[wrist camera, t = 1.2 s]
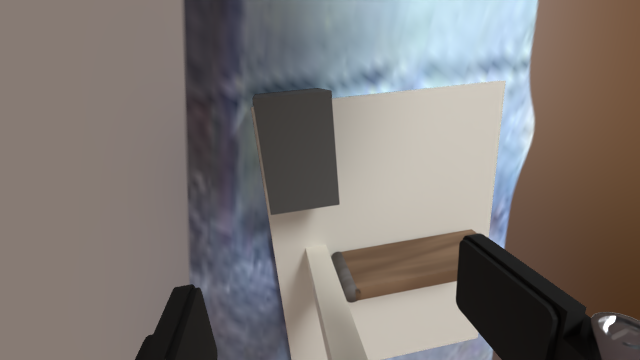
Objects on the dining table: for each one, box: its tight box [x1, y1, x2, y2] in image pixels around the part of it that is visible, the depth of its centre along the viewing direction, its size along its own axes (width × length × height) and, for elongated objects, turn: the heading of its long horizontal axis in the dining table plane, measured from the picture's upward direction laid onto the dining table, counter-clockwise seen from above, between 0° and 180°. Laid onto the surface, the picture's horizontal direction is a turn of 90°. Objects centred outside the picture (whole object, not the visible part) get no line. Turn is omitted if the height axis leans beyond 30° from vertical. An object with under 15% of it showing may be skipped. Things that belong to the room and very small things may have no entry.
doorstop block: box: [253, 88, 340, 215], centre depth 23 cm, size 8×5×6 cm, turn 5°
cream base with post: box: [251, 81, 505, 360], centre depth 25 cm, size 30×22×15 cm
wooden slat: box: [331, 229, 478, 303], centre depth 28 cm, size 1×15×6 cm, turn 95°
